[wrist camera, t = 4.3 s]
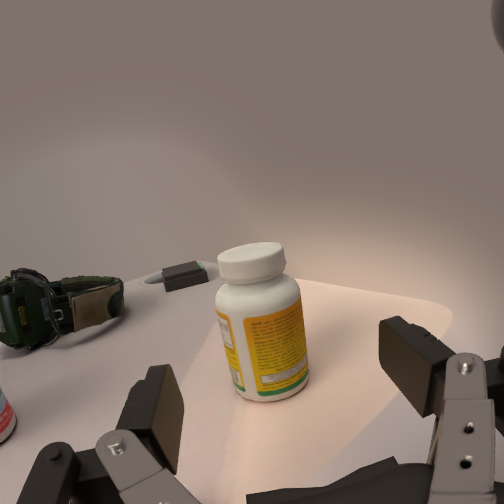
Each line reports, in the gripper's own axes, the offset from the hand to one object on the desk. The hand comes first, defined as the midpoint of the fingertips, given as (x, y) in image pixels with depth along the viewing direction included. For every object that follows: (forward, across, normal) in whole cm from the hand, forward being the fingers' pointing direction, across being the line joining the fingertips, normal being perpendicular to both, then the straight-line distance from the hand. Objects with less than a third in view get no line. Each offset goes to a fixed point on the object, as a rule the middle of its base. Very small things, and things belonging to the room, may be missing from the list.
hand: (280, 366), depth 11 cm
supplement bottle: (+9, 0, +7) cm, 11 cm away
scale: (+38, +10, +7) cm, 40 cm away
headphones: (+25, +26, +7) cm, 36 cm away
